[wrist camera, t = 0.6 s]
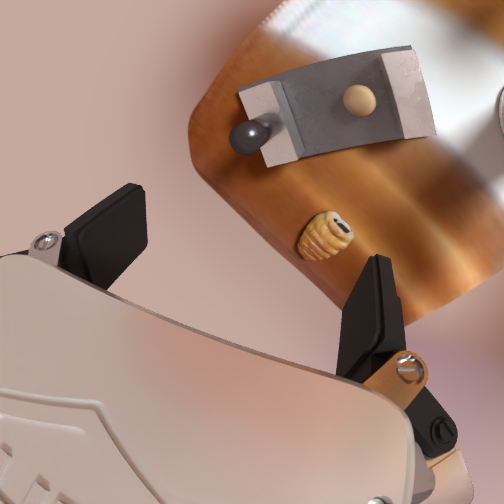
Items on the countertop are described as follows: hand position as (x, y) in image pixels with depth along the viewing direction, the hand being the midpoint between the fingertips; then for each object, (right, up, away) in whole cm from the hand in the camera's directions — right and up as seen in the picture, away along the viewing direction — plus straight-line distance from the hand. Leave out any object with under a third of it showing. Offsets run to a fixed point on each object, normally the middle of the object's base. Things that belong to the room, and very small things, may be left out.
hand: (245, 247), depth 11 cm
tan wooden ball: (+13, +18, +17) cm, 28 cm away
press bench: (+11, +19, +21) cm, 31 cm away
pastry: (+12, +3, +33) cm, 36 cm away
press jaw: (+4, +17, +24) cm, 29 cm away
